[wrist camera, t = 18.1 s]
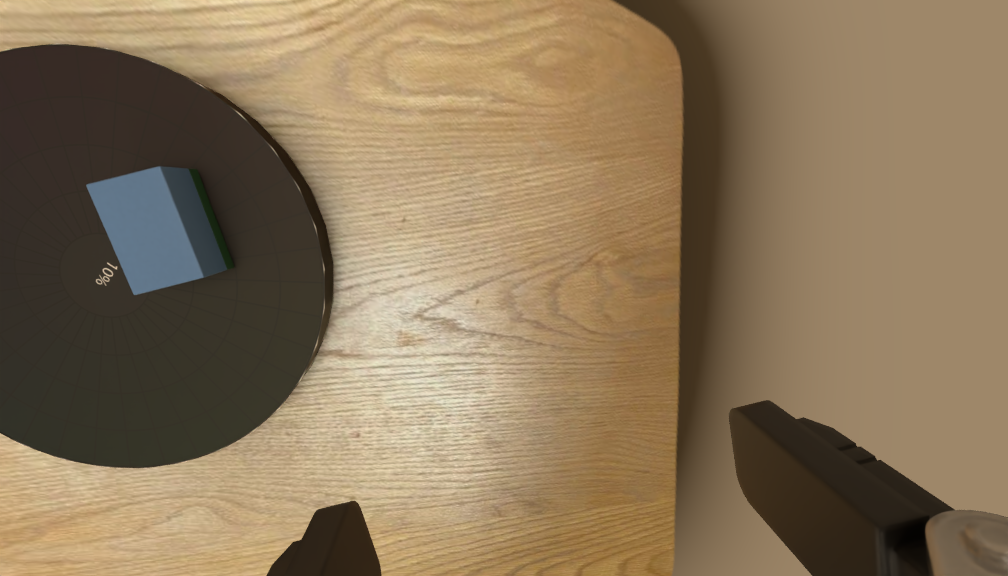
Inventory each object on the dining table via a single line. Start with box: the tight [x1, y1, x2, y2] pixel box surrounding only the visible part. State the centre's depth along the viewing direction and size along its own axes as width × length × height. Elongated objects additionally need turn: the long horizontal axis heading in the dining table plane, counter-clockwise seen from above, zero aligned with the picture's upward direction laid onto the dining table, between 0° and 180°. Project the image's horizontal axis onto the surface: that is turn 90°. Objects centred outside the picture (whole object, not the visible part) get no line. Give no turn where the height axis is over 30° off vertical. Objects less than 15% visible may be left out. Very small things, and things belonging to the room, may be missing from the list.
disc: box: [0, 44, 333, 468], centre depth 34 cm, size 30×30×3 cm
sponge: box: [86, 166, 234, 295], centre depth 30 cm, size 7×4×4 cm, turn 14°
